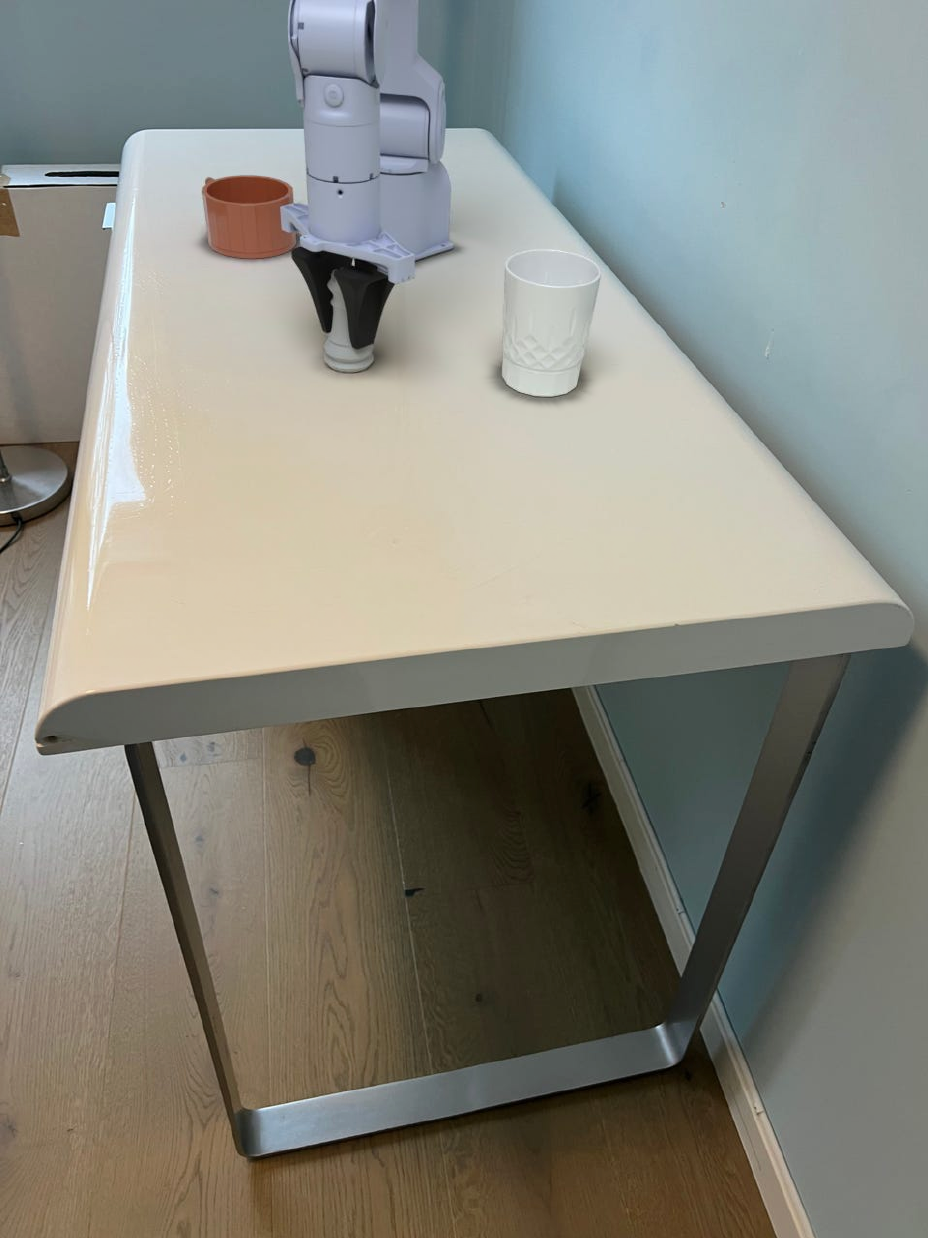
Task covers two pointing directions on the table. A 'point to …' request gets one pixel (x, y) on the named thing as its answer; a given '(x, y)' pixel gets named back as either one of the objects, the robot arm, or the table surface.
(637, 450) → the table surface
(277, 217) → the mug
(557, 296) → the white cup
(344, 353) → the rook chess piece
